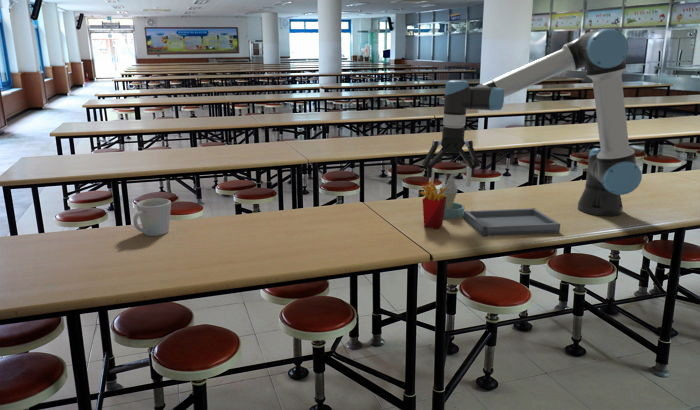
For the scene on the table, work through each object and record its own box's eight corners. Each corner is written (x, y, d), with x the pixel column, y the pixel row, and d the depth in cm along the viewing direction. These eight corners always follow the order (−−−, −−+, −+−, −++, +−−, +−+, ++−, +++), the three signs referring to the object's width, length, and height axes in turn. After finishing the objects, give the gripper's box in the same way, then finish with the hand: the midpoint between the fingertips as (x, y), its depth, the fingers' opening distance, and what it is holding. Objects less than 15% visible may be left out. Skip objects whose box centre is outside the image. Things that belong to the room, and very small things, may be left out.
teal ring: (457, 209, 205) (458, 201, 204) (468, 217, 195) (468, 209, 194) (430, 210, 203) (430, 202, 202) (439, 218, 193) (439, 210, 192)
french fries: (445, 224, 187) (448, 181, 182) (439, 231, 179) (441, 187, 175) (420, 221, 190) (422, 178, 186) (413, 228, 183) (414, 184, 179)
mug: (180, 229, 180) (177, 199, 178) (150, 244, 167) (147, 212, 164) (153, 225, 184) (150, 196, 181) (122, 240, 170) (118, 208, 167)
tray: (533, 216, 196) (534, 208, 196) (559, 232, 179) (560, 224, 178) (463, 219, 193) (464, 211, 192) (483, 236, 175) (483, 227, 175)
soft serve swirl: (455, 216, 196) (458, 175, 192) (441, 215, 197) (443, 174, 193) (456, 212, 201) (458, 172, 196) (441, 211, 202) (444, 171, 197)
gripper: (484, 124, 195) (479, 182, 201) (415, 124, 192) (412, 184, 198) (492, 127, 188) (487, 188, 194) (421, 128, 185) (418, 189, 190)
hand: (449, 186), depth 196 cm, fingers open, 13 cm apart
